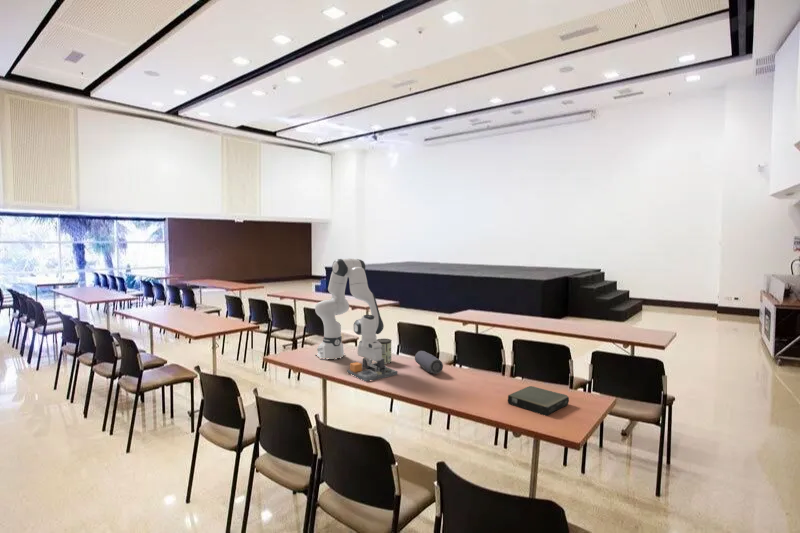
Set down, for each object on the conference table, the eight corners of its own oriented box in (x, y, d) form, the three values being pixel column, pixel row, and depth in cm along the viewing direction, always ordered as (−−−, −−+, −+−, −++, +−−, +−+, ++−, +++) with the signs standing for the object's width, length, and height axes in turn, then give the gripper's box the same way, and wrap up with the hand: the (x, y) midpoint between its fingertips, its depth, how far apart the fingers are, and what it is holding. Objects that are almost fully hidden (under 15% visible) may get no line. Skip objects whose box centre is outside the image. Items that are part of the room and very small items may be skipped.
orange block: (350, 370, 265) (350, 363, 265) (357, 368, 268) (357, 362, 268) (354, 372, 261) (354, 365, 261) (361, 370, 264) (361, 363, 264)
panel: (347, 373, 265) (347, 368, 265) (377, 366, 279) (377, 361, 278) (366, 382, 249) (366, 376, 249) (397, 374, 263) (397, 369, 263)
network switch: (525, 393, 233) (525, 383, 233) (571, 404, 218) (571, 393, 218) (504, 406, 215) (505, 396, 215) (553, 418, 200) (553, 407, 200)
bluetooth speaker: (443, 375, 263) (444, 358, 262) (429, 376, 260) (429, 359, 259) (427, 364, 284) (427, 349, 283) (413, 366, 281) (414, 350, 280)
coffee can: (376, 359, 296) (376, 338, 295) (392, 359, 295) (392, 338, 294) (374, 363, 286) (374, 341, 285) (390, 364, 285) (390, 342, 284)
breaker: (377, 367, 269) (377, 357, 269) (381, 366, 271) (381, 357, 271) (380, 368, 267) (380, 358, 267) (384, 367, 269) (384, 358, 268)
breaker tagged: (362, 367, 269) (362, 357, 269) (366, 366, 271) (366, 357, 270) (365, 368, 267) (365, 359, 266) (369, 367, 269) (369, 358, 268)
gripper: (354, 340, 271) (355, 363, 272) (374, 346, 255) (374, 370, 256) (363, 339, 275) (363, 361, 276) (383, 344, 259) (383, 368, 260)
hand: (369, 365), depth 266 cm, fingers closed
